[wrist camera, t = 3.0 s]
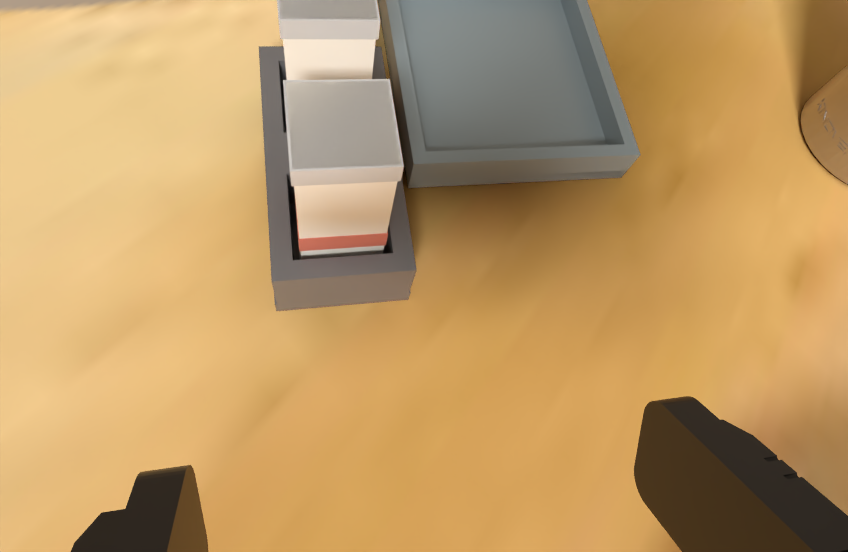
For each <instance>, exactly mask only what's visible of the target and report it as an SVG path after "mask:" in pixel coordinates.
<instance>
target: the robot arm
mask: <svg viewBox="0 0 848 552" xmlns="http://www.w3.org/2000/svg"><path fill="white" fill-rule="evenodd" d="M801 126H802V132H803V135H804V137H805V140H806V143H807V144H808V146H809V148H810V149H811V151H812V153H813V154H814V155H815V157H816V158H817V159H818V160H819V162H820V163H821V164H822V165H823V166H824V167H825V168H826V169H827V170H828V171H830V172H831V173H832V174H833V175H834V176H836V177H837V178H839V179H840V180H842V181H843V182H844V183H846V184H848V65H847V66H845V67H844V68H843V69H842V70H841V71H840V72H839V73H838V74H836V75H835V76H834V77H833V78H832V79H831V80H830V81H828V82H827V83H826V84H825V85H824V86H823V87H822V88H821V89H819V90H818V91H817V92H816V93H815V94H814V95H813V96H812V97H811V98H810V99H809V100H808V101H807V102H806V103H805V105H804V107H803V110H802V114H801ZM634 476H635V482H636V486H637V489H638V492H639V494H640V496H641V498H642V500H643V501H644V503H645V504H646V505H647V507H648V508H649V509H650V511H651V512H652V513H653V514H654V516H655V517H656V518H657V520H658V521H659V522H660V524H661V525H662V526H663V527H664V529H665V530H666V531H667V533H668V534H669V535H670V536H671V538H672V539H673V540H674V542H675V543H676V544H677V546H678V547H679V548H680V549H681V551H682V552H848V516H847V515H846V514H845V513H844V512H843V511H841V510H840V509H839V508H838V507H837V506H835V505H834V504H833V503H832V502H831V501H830V500H828V499H827V498H826V497H825V496H824V495H822V494H821V493H820V492H819V491H818V490H817V489H815V488H814V487H813V486H812V485H811V484H810V483H808V482H807V481H806V480H805V479H804V478H802V477H800V478H799V477H798V476H797V472H795V471H794V470H793V469H792V468H791V467H789V466H788V465H787V464H786V463H785V462H784V461H782V460H778V459H777V455H775V454H774V453H773V452H772V451H771V450H769V449H768V448H767V447H766V446H765V445H764V444H762V443H761V442H760V441H759V440H758V439H756V438H755V437H754V436H753V435H751V434H749V433H747V432H745V431H743V430H742V429H740V428H738V427H736V426H734V425H732V424H730V423H728V422H726V421H724V420H719V419H718V418H717V417H716V416H715V415H714V414H713V413H711V412H710V411H709V410H708V409H707V408H706V407H705V406H703V405H702V404H701V403H700V402H699V401H698V400H696V399H695V398H693V397H689V396H686V397H679V398H672V399H665V400H658V401H652V402H649V403H648V404H647V406H646V407H645V410H644V414H643V420H642V425H641V431H640V437H639V443H638V448H637V454H636V460H635V466H634ZM71 552H208V542H207V535H206V530H205V524H204V519H203V514H202V509H201V504H200V499H199V493H198V488H197V483H196V478H195V473H194V470H193V468H192V466H191V465H187V466H180V467H173V468H166V469H159V470H152V471H145V472H140V473H139V474H138V476H137V478H136V480H135V483H134V486H133V489H132V492H131V495H130V497H129V500H128V503H127V506H126V509H123V510H116V511H110V512H103V513H101V514H100V515H99V516H98V517H97V518H96V519H95V521H94V522H93V523H92V524H91V525H90V526H89V527H88V528H87V530H86V531H85V532H84V533H83V534H82V535H81V536H80V537H79V538H78V540H77V541H76V542H75V543H74V545H73V548H72V550H71Z"/></svg>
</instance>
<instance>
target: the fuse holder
mask: <svg viewBox="0 0 848 552" xmlns="http://www.w3.org/2000/svg"><path fill="white" fill-rule="evenodd" d="M259 58H260V77H261V95H262V113H263V131H264V149H265V167H266V186H267V204H268V222H269V240H270V258H271V276H272V285H273V289H274V296H275V307H276V311H284V310H295V309H306V308H318V307H329V306H340V305H352V304H363V303H374V302H386V301H397V300H408V298H409V295H410V287H411V285H412V282H413V279H414V276H415V273H416V264H415V258H414V251H413V245H412V239H411V232H410V226H409V220H408V213H407V207H406V201H405V194H404V188H403V182H402V178H401V181H397V186H396V191H395V196H394V201H393V206H392V211H391V216H390V221H389V225H388V237H387V242H386V245H384V250H383V254H374V255H360V256H346V257H332V258H318V259H304V260H300V258H299V245H298V231H297V218H296V205H295V190H294V186H291V178H290V168H289V154H288V140H287V127H286V113H285V100H284V86H283V80H287V78H286V67H285V56H284V47H259ZM372 79H386V75H385V68H384V62H383V56H382V49H381V47H375V52H374V62H373V73H372Z"/></svg>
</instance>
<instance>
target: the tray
mask: <svg viewBox="0 0 848 552" xmlns="http://www.w3.org/2000/svg"><path fill="white" fill-rule="evenodd" d="M378 5H379V12H380V18H381V24H382V30H383V36H384V42H385V49H386V55H387V61H388V67H389V73H390V79H391V86H392V92H393V98H394V104H395V110H396V117H397V123H398V129H399V135H400V141H401V147H402V154H403V160H404V166H405V172H406V178H407V184H408V188H418V187H438V186H459V185H479V184H499V183H520V182H540V181H560V180H580V179H601V178H621V177H622V176H623V175H624V174H625V173H626V171H627V170H628V169H629V168H630V167H631V165H632V164H633V163H634V162H635V161H636V160H637V158H638V157H639V156H640V152H639V149H638V146H637V143H636V140H635V138H634V135H633V132H632V129H631V126H630V123H629V120H628V117H627V114H626V112H625V109H624V106H623V103H622V100H621V97H620V94H619V91H618V88H617V86H616V83H615V80H614V77H613V74H612V71H611V68H610V65H609V62H608V60H607V57H606V54H605V51H604V48H603V45H602V42H601V39H600V36H599V34H598V31H597V28H596V25H595V22H594V19H593V16H592V13H591V10H590V8H589V5H588V2H587V0H378Z"/></svg>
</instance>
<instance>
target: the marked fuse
mask: <svg viewBox="0 0 848 552" xmlns="http://www.w3.org/2000/svg"><path fill="white" fill-rule="evenodd" d="M283 86H284V100H285V113H286V127H287V140H288V154H289V168H290V178H291V186H294V190H295V205H296V218H297V231H298V245H299V258H300V260H304V259H318V258H332V257H346V256H360V255H374V254H383V250H384V245H386V242H387V237H388V225H389V221H390V216H391V211H392V206H393V201H394V196H395V191H396V186H397V181H401V178H402V173H403V168H404V165H403V159H402V152H401V146H400V140H399V134H398V128H397V121H396V115H395V109H394V103H393V97H392V90H391V84H390V79H340V80H283Z"/></svg>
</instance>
